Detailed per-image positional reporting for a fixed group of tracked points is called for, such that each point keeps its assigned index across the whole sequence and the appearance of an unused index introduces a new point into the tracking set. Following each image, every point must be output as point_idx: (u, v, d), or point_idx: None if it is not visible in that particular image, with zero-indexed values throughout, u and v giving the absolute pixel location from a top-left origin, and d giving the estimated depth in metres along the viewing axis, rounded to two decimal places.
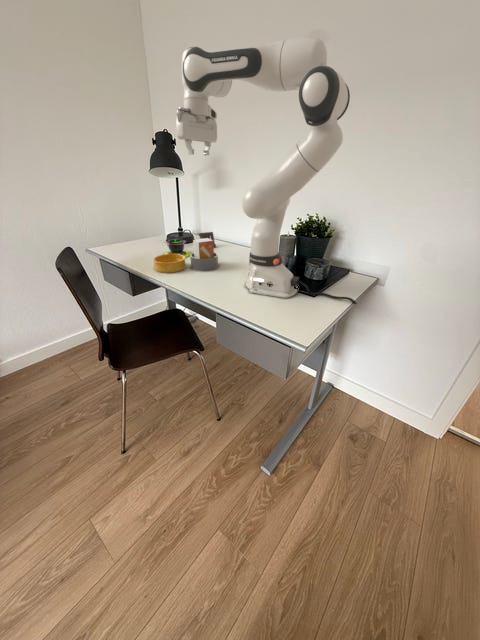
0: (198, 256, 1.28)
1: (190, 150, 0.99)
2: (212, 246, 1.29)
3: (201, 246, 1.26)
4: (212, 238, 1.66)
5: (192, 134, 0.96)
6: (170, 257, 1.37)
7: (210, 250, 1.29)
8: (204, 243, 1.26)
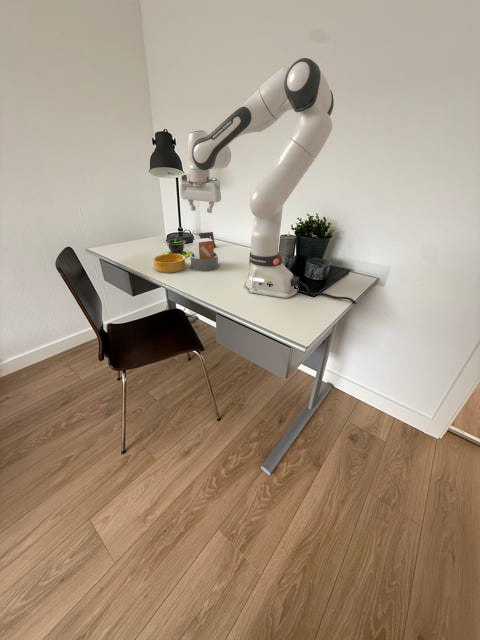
0: (198, 256, 1.28)
1: (211, 209, 1.18)
2: (212, 246, 1.29)
3: (201, 246, 1.26)
4: (212, 238, 1.66)
5: None
6: (170, 257, 1.37)
7: (210, 250, 1.29)
8: (204, 243, 1.26)
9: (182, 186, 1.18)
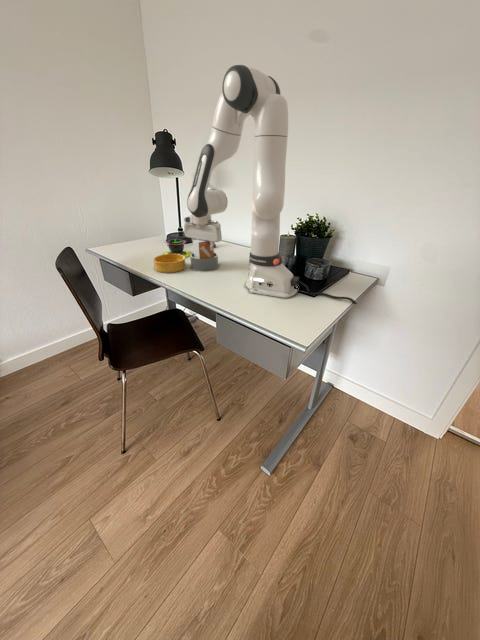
0: (198, 256, 1.28)
1: (212, 247, 1.28)
2: None
3: (201, 246, 1.26)
4: None
5: None
6: (170, 257, 1.37)
7: (210, 250, 1.29)
8: (204, 243, 1.26)
9: (185, 226, 1.27)
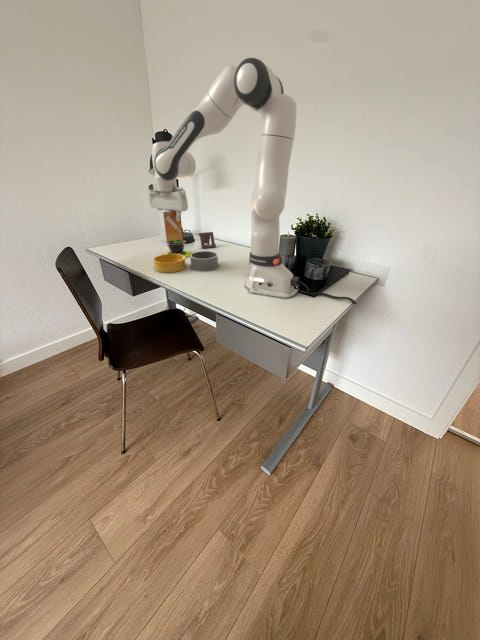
0: (164, 227, 1.20)
1: (179, 218, 1.19)
2: None
3: (166, 216, 1.17)
4: (212, 238, 1.66)
5: None
6: (170, 257, 1.37)
7: (177, 221, 1.21)
8: (170, 213, 1.17)
9: (150, 195, 1.19)
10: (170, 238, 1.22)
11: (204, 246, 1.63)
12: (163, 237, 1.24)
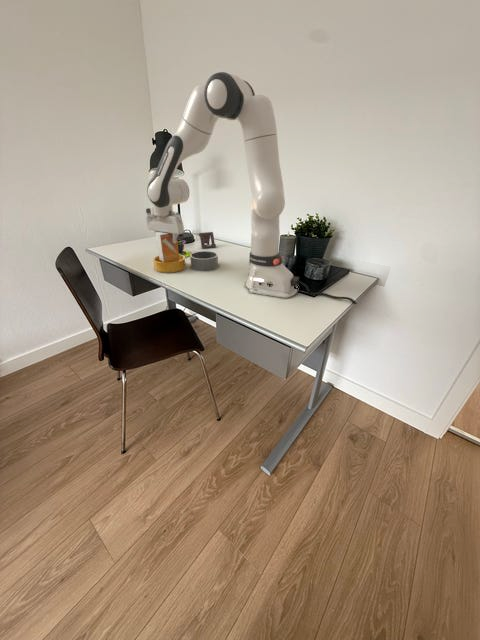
0: (161, 249, 1.24)
1: (175, 240, 1.23)
2: None
3: (163, 239, 1.21)
4: (212, 238, 1.66)
5: None
6: None
7: (173, 243, 1.25)
8: (166, 235, 1.22)
9: (147, 218, 1.23)
10: (167, 259, 1.27)
11: (204, 246, 1.63)
12: (160, 257, 1.28)
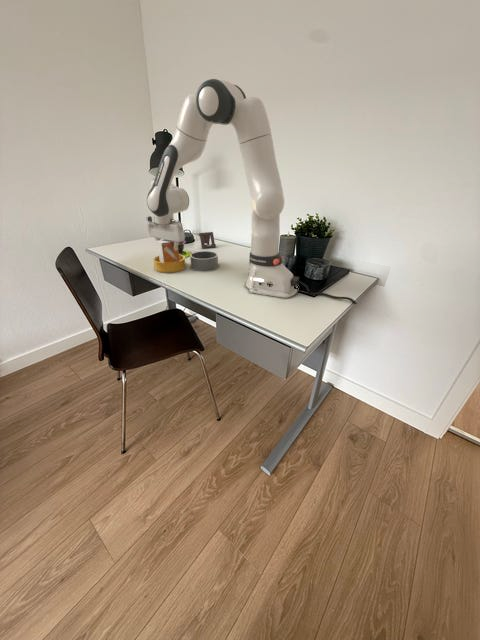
0: (162, 257, 1.26)
1: (176, 247, 1.25)
2: None
3: (164, 247, 1.23)
4: (212, 238, 1.66)
5: None
6: None
7: (174, 251, 1.27)
8: (167, 244, 1.23)
9: (149, 226, 1.25)
10: None
11: (204, 246, 1.63)
12: None
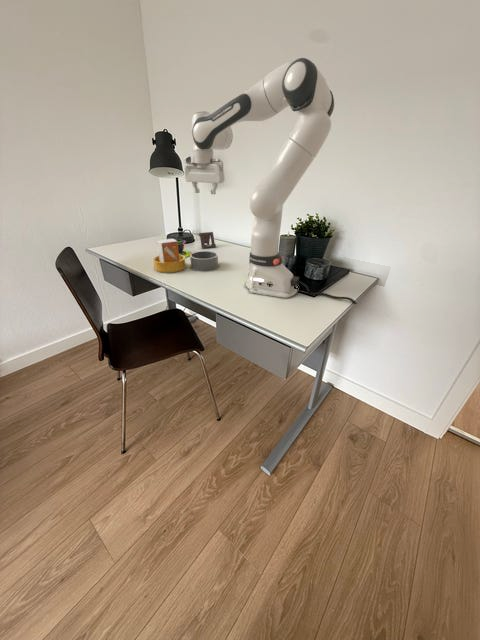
0: (162, 257, 1.26)
1: (215, 191, 1.21)
2: (176, 247, 1.27)
3: (164, 247, 1.23)
4: (212, 238, 1.66)
5: None
6: None
7: (174, 251, 1.27)
8: (167, 244, 1.23)
9: (186, 168, 1.21)
10: None
11: (204, 246, 1.63)
12: None
